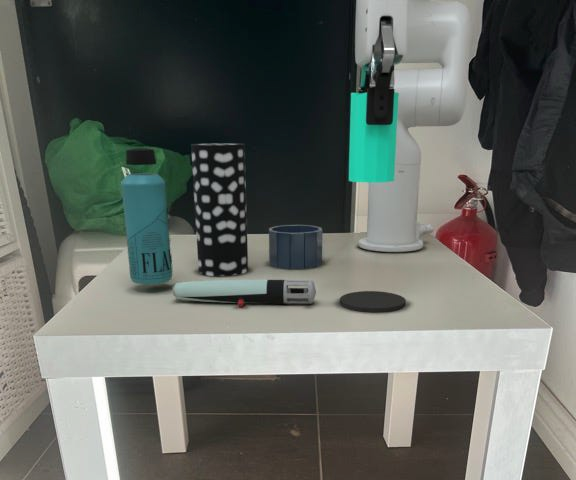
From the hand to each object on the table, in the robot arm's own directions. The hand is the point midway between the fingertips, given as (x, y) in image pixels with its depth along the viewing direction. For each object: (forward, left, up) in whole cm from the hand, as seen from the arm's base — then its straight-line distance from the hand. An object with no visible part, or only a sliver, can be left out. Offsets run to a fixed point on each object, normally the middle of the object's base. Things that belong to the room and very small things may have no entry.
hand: (374, 123), depth 81 cm
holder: (-6, -26, -23) cm, 36 cm away
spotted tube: (+8, -28, -23) cm, 38 cm away
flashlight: (+15, -8, -23) cm, 29 cm away
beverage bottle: (+22, -23, -23) cm, 40 cm away
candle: (0, 0, -7) cm, 7 cm away
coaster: (0, +2, -23) cm, 23 cm away
